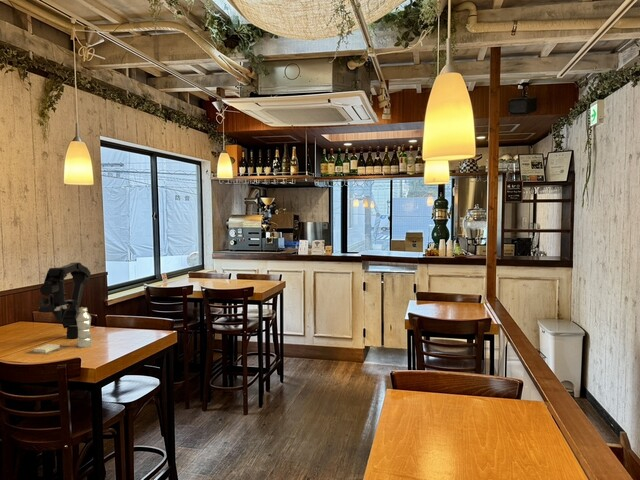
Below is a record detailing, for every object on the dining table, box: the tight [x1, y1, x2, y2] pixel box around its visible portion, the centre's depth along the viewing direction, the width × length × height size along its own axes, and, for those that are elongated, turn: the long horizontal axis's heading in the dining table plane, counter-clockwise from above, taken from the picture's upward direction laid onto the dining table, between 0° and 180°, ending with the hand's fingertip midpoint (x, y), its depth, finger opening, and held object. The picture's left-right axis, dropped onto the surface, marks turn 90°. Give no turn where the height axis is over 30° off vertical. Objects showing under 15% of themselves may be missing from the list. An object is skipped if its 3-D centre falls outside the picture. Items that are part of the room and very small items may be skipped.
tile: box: [33, 343, 60, 353], centre depth 209 cm, size 2×7×8 cm
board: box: [25, 344, 72, 356], centre depth 210 cm, size 14×14×1 cm
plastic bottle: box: [76, 306, 93, 349], centre depth 214 cm, size 6×7×20 cm
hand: (59, 322), depth 218 cm, fingers closed
